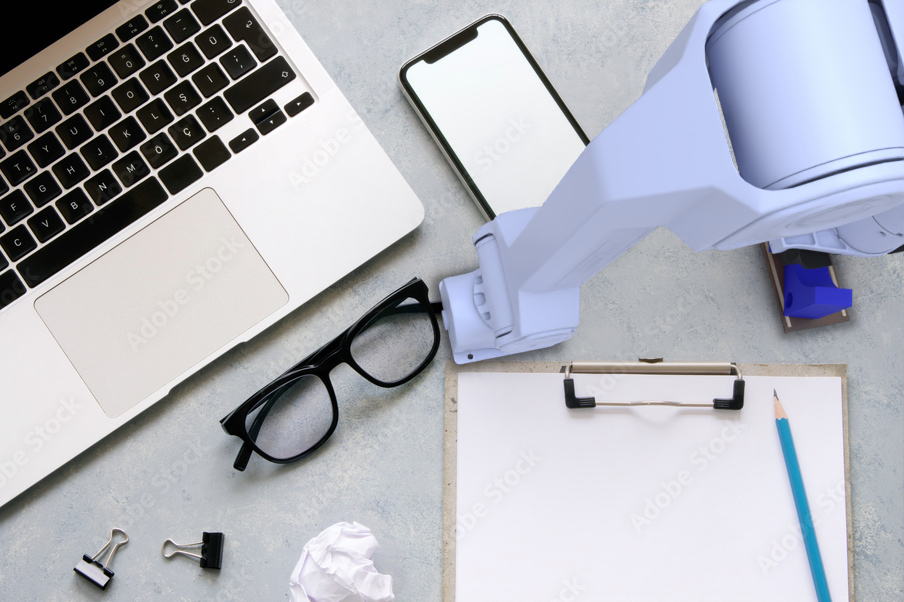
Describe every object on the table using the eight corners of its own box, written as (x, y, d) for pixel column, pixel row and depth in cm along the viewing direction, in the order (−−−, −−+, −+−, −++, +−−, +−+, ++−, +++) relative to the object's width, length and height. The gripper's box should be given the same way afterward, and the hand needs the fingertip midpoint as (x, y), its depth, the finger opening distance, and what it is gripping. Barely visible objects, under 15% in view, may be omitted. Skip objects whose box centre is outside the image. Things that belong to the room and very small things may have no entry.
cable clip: (770, 190, 71) (799, 166, 65) (819, 194, 71) (853, 170, 65) (766, 314, 69) (796, 302, 63) (817, 319, 69) (852, 306, 63)
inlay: (785, 333, 69) (787, 332, 69) (745, 190, 71) (747, 189, 71) (848, 320, 69) (850, 320, 69) (806, 178, 72) (809, 177, 71)
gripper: (985, 130, 55) (874, 191, 69) (794, 167, 55) (720, 221, 69) (1015, 220, 54) (896, 265, 68) (820, 259, 54) (740, 296, 68)
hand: (809, 248), depth 68 cm, fingers closed on cable clip, 4 cm apart
